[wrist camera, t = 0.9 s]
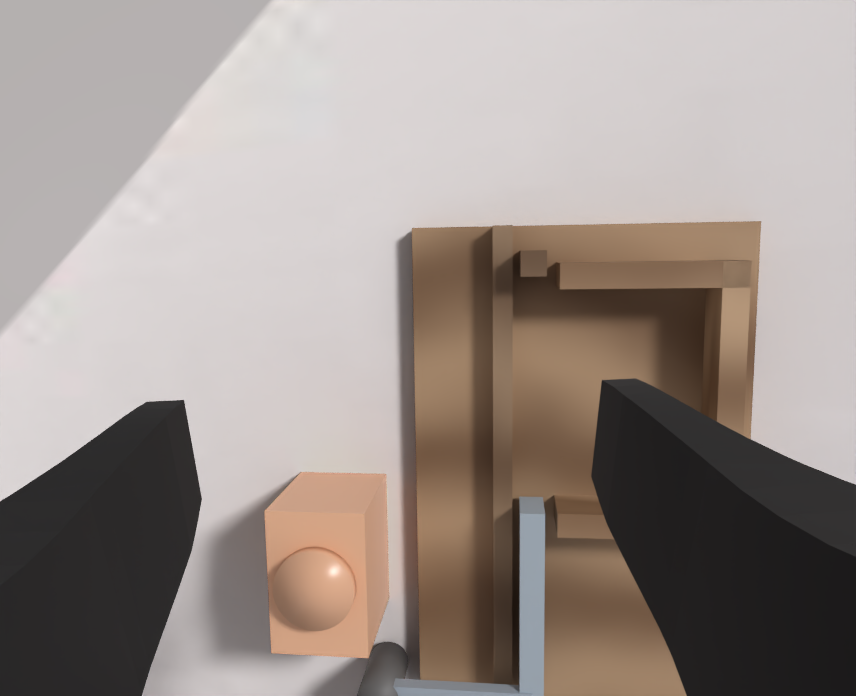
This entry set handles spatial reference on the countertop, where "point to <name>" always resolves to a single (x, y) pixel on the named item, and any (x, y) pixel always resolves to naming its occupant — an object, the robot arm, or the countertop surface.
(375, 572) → the block with dome
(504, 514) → the housing
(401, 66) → the countertop surface
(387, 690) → the gate
